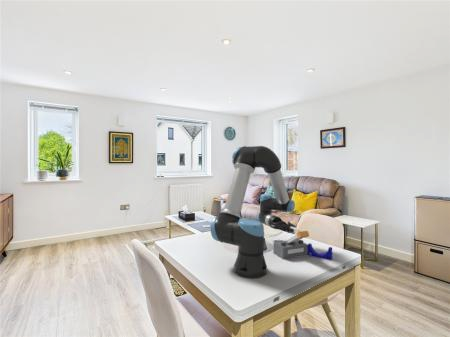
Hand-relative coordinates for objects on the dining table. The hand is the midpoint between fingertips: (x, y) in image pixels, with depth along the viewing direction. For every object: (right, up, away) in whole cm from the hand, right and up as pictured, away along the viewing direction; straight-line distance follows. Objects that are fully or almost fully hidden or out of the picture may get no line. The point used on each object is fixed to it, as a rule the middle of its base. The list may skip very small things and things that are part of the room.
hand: (298, 232), depth 127 cm
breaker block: (-3, -14, +6) cm, 15 cm away
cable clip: (+13, -15, +4) cm, 20 cm away
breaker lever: (-3, -7, +6) cm, 10 cm away
